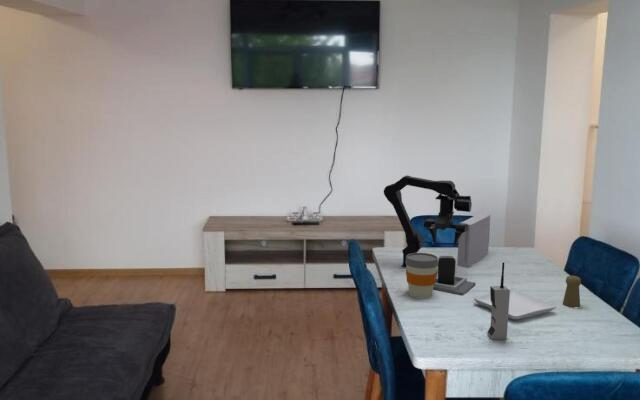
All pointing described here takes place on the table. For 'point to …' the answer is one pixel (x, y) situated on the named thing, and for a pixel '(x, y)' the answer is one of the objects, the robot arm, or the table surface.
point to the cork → (572, 292)
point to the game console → (474, 240)
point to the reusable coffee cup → (421, 274)
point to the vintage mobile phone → (499, 310)
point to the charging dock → (455, 286)
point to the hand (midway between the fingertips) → (444, 244)
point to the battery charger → (446, 269)
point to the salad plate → (519, 304)
